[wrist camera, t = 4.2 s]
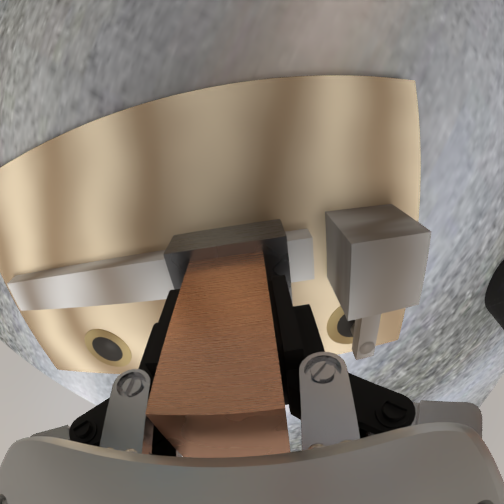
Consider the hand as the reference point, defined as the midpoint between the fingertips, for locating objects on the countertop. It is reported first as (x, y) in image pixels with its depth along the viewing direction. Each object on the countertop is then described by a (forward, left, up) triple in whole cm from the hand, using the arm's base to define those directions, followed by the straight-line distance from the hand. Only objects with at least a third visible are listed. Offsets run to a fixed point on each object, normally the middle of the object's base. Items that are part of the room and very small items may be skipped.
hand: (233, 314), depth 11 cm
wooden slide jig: (+4, 0, -6) cm, 7 cm away
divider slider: (0, +2, -4) cm, 5 cm away
